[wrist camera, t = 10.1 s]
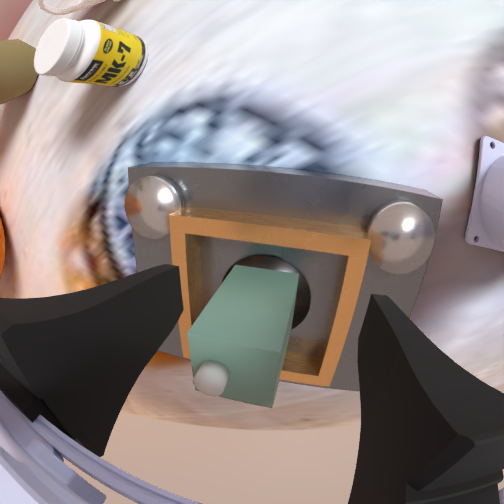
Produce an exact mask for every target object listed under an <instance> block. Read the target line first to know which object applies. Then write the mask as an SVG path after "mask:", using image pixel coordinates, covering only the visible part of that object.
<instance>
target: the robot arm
mask: <svg viewBox="0 0 504 504" xmlns="http://www.w3.org/2000/svg"><path fill="white" fill-rule="evenodd" d="M490 142H491V143H492V148H491V147H490ZM475 236H477V239H476V240H475V241H474V238H475ZM465 241H466V242H467V243H468V244H471V245H475V246H480V247H485V248H489V249H494V250H498V251H502V252H504V143H502V142H500V141H497V140H495V139H493V138H490V137H488V136H483V137H482V138H481V140H480V151H479V161H478V170H477V177H476V184H475V190H474V196H473V201H472V207H471V211H470V216H469V221H468V225H467V229H466V233H465ZM183 310H184V308H183V299H182V290H181V280H180V270H179V266H175V265H169V264H163V265H159V266H155V267H152V268H149V269H146V270H143V271H141V272H138V273H135V274H132V275H129V276H127V277H124V278H121V279H118V280H115V281H112V282H109V283H106V284H103V285H100V286H97V287H94V288H90V289H86V290H82V291H78V292H74V293H69V294H63V295H57V296H51V297H42V298H28V299H10V298H0V504H103V503H104V501H105V500H106V495H105V494H103V493H102V492H100V491H99V490H97V489H96V488H95V487H93V486H92V485H91V484H89V483H88V482H87V481H85V480H84V479H83V478H82V477H80V476H79V475H78V474H77V473H76V472H75V471H74V470H72V469H71V468H70V467H68V466H67V465H66V464H65V463H64V460H63V457H64V458H65V459H67V460H68V461H69V462H71V463H72V464H73V465H75V466H76V467H78V468H79V469H80V470H82V471H83V472H85V473H86V474H88V475H89V476H91V477H92V478H94V479H96V480H97V481H99V482H100V483H102V484H104V485H105V486H107V487H109V488H110V489H112V490H114V491H116V492H117V493H119V494H121V495H123V496H125V497H127V498H128V499H130V500H132V501H134V502H136V503H138V504H201V503H198V502H195V501H192V500H189V499H186V498H183V497H181V496H178V495H175V494H173V493H170V492H168V491H165V490H163V489H161V488H158V487H156V486H154V485H151V484H149V483H147V482H145V481H143V480H141V479H139V478H137V477H135V476H133V475H131V474H129V473H127V472H125V471H123V470H121V469H119V468H117V467H116V466H114V465H112V464H110V463H109V462H107V461H105V460H103V459H102V458H100V457H101V456H103V455H104V452H105V448H106V445H107V442H108V440H109V437H110V434H111V431H112V429H113V427H114V424H115V422H116V420H117V417H118V415H119V413H120V410H121V408H122V406H123V404H124V402H125V400H126V398H127V396H128V394H129V392H130V391H131V389H132V387H133V385H134V384H135V382H136V380H137V378H138V377H139V375H140V373H141V372H142V370H143V369H144V367H145V366H146V365H147V363H148V362H149V361H150V359H151V358H152V357H153V356H154V354H155V353H156V352H157V350H158V349H159V348H160V346H161V345H162V344H163V342H164V341H165V340H166V338H167V337H168V336H169V334H170V333H171V332H172V330H173V329H174V327H175V325H176V323H177V322H178V320H179V318H180V316H181V314H182V312H183ZM357 363H358V375H359V387H360V400H361V432H360V442H359V450H358V458H357V464H356V470H355V475H354V481H353V485H352V490H351V494H350V498H349V502H348V504H504V488H503V489H501V490H499V491H498V484H497V483H499V482H501V481H502V480H503V471H502V469H504V393H501V392H500V391H498V390H496V389H495V388H493V387H491V386H489V385H487V384H486V383H484V382H483V381H481V380H479V379H478V378H476V377H475V376H473V375H472V374H470V373H469V372H468V371H466V370H465V369H463V368H462V367H461V366H459V365H458V364H457V363H455V362H454V361H453V360H452V359H451V358H449V357H448V356H447V355H446V354H445V353H443V352H442V351H441V350H440V349H439V348H438V347H437V346H436V345H435V344H434V343H433V342H431V341H430V340H429V339H428V338H427V337H426V336H425V335H424V334H423V333H422V332H421V331H420V330H419V329H418V327H417V326H416V325H415V324H414V323H413V322H412V321H411V320H410V319H409V318H408V317H407V316H406V315H405V313H404V312H403V311H402V310H401V309H400V308H399V307H398V306H397V305H396V304H395V303H394V302H393V301H392V300H391V299H390V298H389V297H388V296H387V295H378V294H371V296H370V300H369V304H368V307H367V311H366V314H365V318H364V321H363V325H362V328H361V331H360V334H359V337H358V359H357ZM62 456H63V457H62Z"/></svg>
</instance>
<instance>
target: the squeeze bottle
mask: <svg viewBox="0 0 504 504" xmlns="http://www.w3.org/2000/svg"><path fill="white" fill-rule="evenodd" d="M35 52H36V49H35V48H34V47H32V46H30V45H28V44H27V43H25V42H23V41H21V40H18V39H16V40H3V41H0V104H3V103H6V102H8V101H10V100H12V99H14V98H17V97H19V96H21V95H23V94H26V93H27V92H28V91H29V90H30V89H31V88H32V87H33V85H34V83H35V81H36V79H37V76H38V73H37V72H36V71H35V68H34V57H35Z"/></svg>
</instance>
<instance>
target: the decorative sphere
mask: <svg viewBox="0 0 504 504" xmlns="http://www.w3.org/2000/svg"><path fill="white" fill-rule="evenodd" d="M4 260H5V236H4V229H3V225H2V221H1V218H0V278H1V274H2V271H3V266H4Z"/></svg>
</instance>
